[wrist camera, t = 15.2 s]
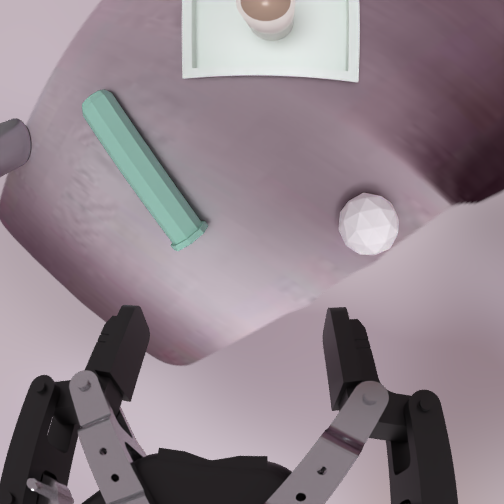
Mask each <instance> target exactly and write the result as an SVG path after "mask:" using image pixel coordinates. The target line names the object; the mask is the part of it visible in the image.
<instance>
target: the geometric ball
mask: <svg viewBox="0 0 504 504" xmlns="http://www.w3.org/2000/svg"><path fill="white" fill-rule="evenodd" d="M398 226H399V218H398V216H397V214H396V212H395V209H394V207H393V205H392V203H391V202H389V201H388V200H386V199H385V198H383V197H382V196H378V195H373V194H368V193H362V194H360V195H358V196H356V197H355V198H353V199H351V200H349V201H348V202H347V204H346V205H345V206H344V208H343V209H342V210H341V212H340V218H339V229H338V230H339V232H340V234H341V236H342V238H343V240H344V242H345V245H346V246H348V247H349V248H351V249H352V250H354V251H355V252H357V253H358V254H363V255H376V254H378V253H381V252H383V251H385V250H388V249H390V247H391V246H392V244H393V242H394V240H395V239H396V237H397V234H398Z"/></svg>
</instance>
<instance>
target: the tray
mask: <svg viewBox="0 0 504 504" xmlns="http://www.w3.org/2000/svg"><path fill="white" fill-rule="evenodd" d="M359 43H360V18H359V0H295V12H294V22H293V27H292V30H291V32H290V33H289V34H288V35H287V36H286V37H284V38H282V39H280V40H275V41H268V40H264V39H261V38H259V37H258V36H256V35H255V34H254V33H253V31H252V30H251V28H250V27H249V26H248V24H247V23H246V21H245V20H244V18H243V17H242V16H241V14H240V13H239V11H238V9H237V6H236V0H182V75H183V79H187V78H202V77H219V76H288V77H306V78H319V79H329V80H339V81H347V82H357V83H358V79H359Z"/></svg>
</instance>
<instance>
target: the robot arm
mask: <svg viewBox="0 0 504 504" xmlns="http://www.w3.org/2000/svg"><path fill="white" fill-rule="evenodd" d="M30 150H31V141H30V135H29V132H28V129H27V127H26V125H25V124H24V123H23V122H22V121H21V120H19V119H11V120H8V121H6V122H3V123H0V177H1V176H3V175H5V174H7V173H9V172H10V171H12V170H14V169H16V168H18V167H20V166H22V165H23V164H25V163H26V161H27V160H28V158H29V155H30ZM149 338H150V332H149V328H148V325H147V323H146V320H145V317H144V315H143V312H142V310H141V308H140V306H132V305H123V306H122V307H121V309H120V311H119V313H118V315H117V316H112V317H111V318H110V319H109V320H108V321H107V322H106V324H105V325H104V327H103V330H102V332H101V335H100V336H99V338H98V342H97V343H96V345H95V347H94V350H93V352H92V355H91V357H90V359H89V362H88V364H87V366H86V368H85V370H84V371H80V372H78V373H77V374H75V375H74V376H73V377H72V379H71V380H69V381H60V382H54V381H53V379H52V378H51V377H49V376H47V375H41V376H38V377H37V378H35V379H34V380H33V382H32V383H31V385H30V388H29V390H28V393H27V395H26V398H25V401H24V404H23V406H22V409H21V412H20V415H19V418H18V421H17V424H16V427H15V430H14V433H13V436H12V440H11V443H10V446H9V450H8V453H7V457H6V461H5V464H4V469H3V473H2V477H1V481H0V504H73V503H74V500H73V498H72V496H71V493H70V490H69V489H68V488H67V484H68V479H69V473H70V469H71V464H72V460H73V455H74V451H75V447H76V442H77V438H78V436H79V439H80V442H81V445H82V447H83V450H84V453H85V455H86V458H87V460H88V463H89V466H90V468H91V471H92V473H93V475H94V478H95V480H96V482H97V485H98V487H99V489H100V490H99V491H98V492H96V493H95V494H94V495H92V496H91V497H90V498H88V499H87V500H86V501H84V502H83V503H82V504H325V503H326V501H327V500H328V499H329V497H330V496H331V495H332V493H333V492H334V491H335V489H336V488H337V486H338V485H339V484H340V483H341V481H342V480H343V478H344V477H345V475H346V474H347V473H348V471H349V470H350V468H351V467H352V465H353V464H354V462H355V461H356V459H357V458H358V456H359V454H360V452H361V451H362V448H363V446H364V444H365V443H366V441H367V439H368V438H374V439H380V440H386V445H387V455H388V466H389V478H390V493H391V504H458V498H457V490H456V481H455V474H454V467H453V461H452V455H451V449H450V444H449V439H448V434H447V429H446V424H445V420H444V416H443V411H442V407H441V403H440V400H439V398H438V397H437V395H435V394H434V393H433V392H431V391H429V390H419V391H417V392H415V393H414V394H413V395H412V396H409V395H402V394H396V393H393V392H390V391H388V390H387V389H386V388H385V387H384V386H383V385H382V384H381V383H380V381H379V379H378V375H377V371H376V367H375V363H374V359H373V355H372V351H371V349H370V344H369V341H368V336H367V333H366V329H365V327H364V326H363V325H362V324H361V322H360V321H359V320H358V319H350V320H349V316H348V312H347V309H346V307H339V308H328V310H327V314H326V319H325V325H324V330H323V348H324V354H325V361H326V369H327V376H328V384H329V390H330V399H331V407H332V411H335V410H339V414H338V415H337V416H336V418H335V419H334V421H333V422H332V424H331V425H330V426H329V428H328V429H327V430H325V432H324V433H323V434H322V435H321V437H320V438H319V439H318V441H317V442H316V443H315V444H314V446H313V447H312V448H311V450H310V451H309V452H308V454H307V455H306V456H305V457H304V459H303V460H302V461H301V462H300V464H299V465H298V466H297V467H296V468H295V470H294V471H293V472H291V471H290V470H288V469H287V468H285V467H283V466H281V465H278V464H276V463H272V462H268V461H267V456H236V457H231V458H225V459H219V460H207V459H204V458H201V457H198V456H196V455H193V454H190V453H187V452H185V451H178V450H171V449H164V448H159V451H158V453H157V454H152V455H148V456H147V455H146V454H145V452H144V451H143V449H142V448H141V446H140V445H139V444H138V442H137V440H136V438H135V436H134V434H133V432H132V430H131V428H130V426H129V424H128V422H127V420H126V417H125V415H124V413H123V411H122V409H121V407H120V405H121V402H122V400H124V401H129V402H130V401H131V399H132V395H133V392H134V388H135V385H136V381H137V378H138V375H139V372H140V368H141V365H142V362H143V359H144V356H145V352H146V349H147V346H148V343H149ZM52 417H53V418H52ZM51 420H52V422H51ZM50 423H51V425H50ZM49 427H50V428H49ZM48 430H49V432H48ZM47 434H48V435H47Z"/></svg>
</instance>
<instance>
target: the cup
mask: <svg viewBox="0 0 504 504" xmlns="http://www.w3.org/2000/svg"><path fill="white" fill-rule="evenodd" d="M236 6H237V9H238V11H239V13H240V14H241V16H242V17H243V18H244V20H245V21H246V23H247V24H248V26H249V27H250V28H251V30H252V31H253V33H254V34H255V35H256V36H258V37H259V38H261V39H264V40H268V41H275V40H280V39H282V38H284V37H286V36H287V35H288V34H289V33H290V32H291V30H292V27H293V22H294V12H295V0H236Z"/></svg>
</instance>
